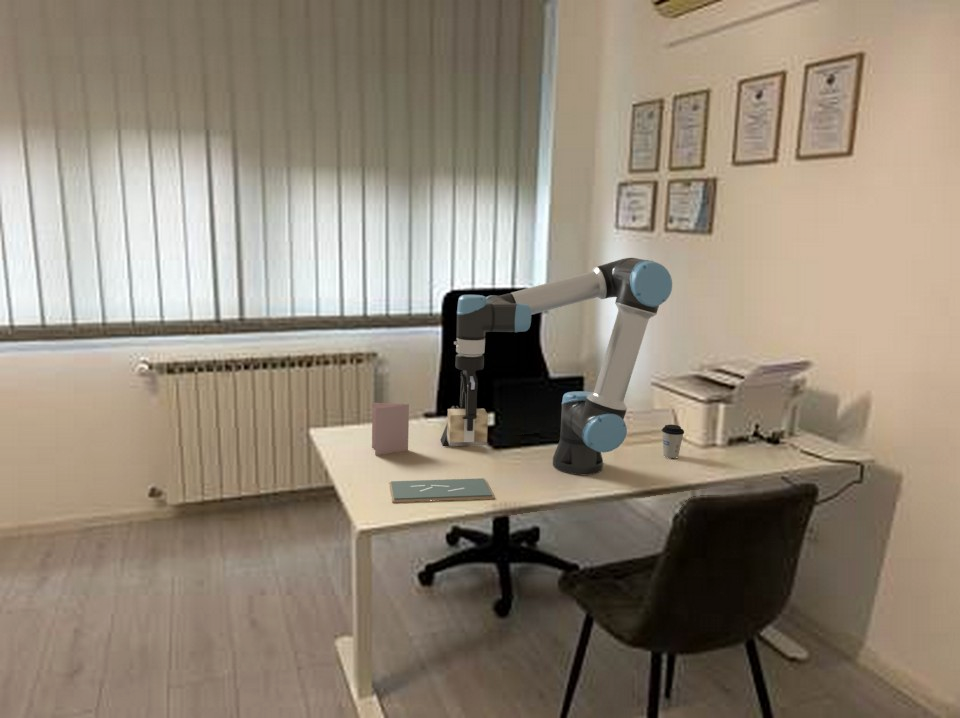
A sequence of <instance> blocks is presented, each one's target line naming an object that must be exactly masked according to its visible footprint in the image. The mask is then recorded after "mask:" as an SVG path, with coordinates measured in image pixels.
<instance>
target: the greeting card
mask: <svg viewBox="0 0 960 718" xmlns="http://www.w3.org/2000/svg"><path fill="white" fill-rule="evenodd" d="M371 404H372V405H371V406H372V407H371V409H372V410H371V412H372V413H371V420H372V421H371V449H372V448H375V449H374V456H375V455H377V456H381V454H383V455H388V454H392V453H393V452H394V453H398V452H405V450H406V451H408V450H409V426H410V425H409V422H410V421H409V419H410V417H409V415H410V404H409V403H389V402H387V403H386V402H372V403H371ZM387 453H388V454H387Z"/></svg>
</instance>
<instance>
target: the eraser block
mask: <svg viewBox="0 0 960 718" xmlns="http://www.w3.org/2000/svg"><path fill="white" fill-rule="evenodd" d="M463 417H465V409H461V408H459V409H457V408H455V409H451V408H447V419H446V420H447V422H446V425H447V441H448V443H449V446H455V447H470V446H474V447H475V446H482V447H483V446H487V445H488V424H489V414H488V412H487V411H486V409H485V408H477V418H476V419H475V429H474V442H464V419H463Z"/></svg>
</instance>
